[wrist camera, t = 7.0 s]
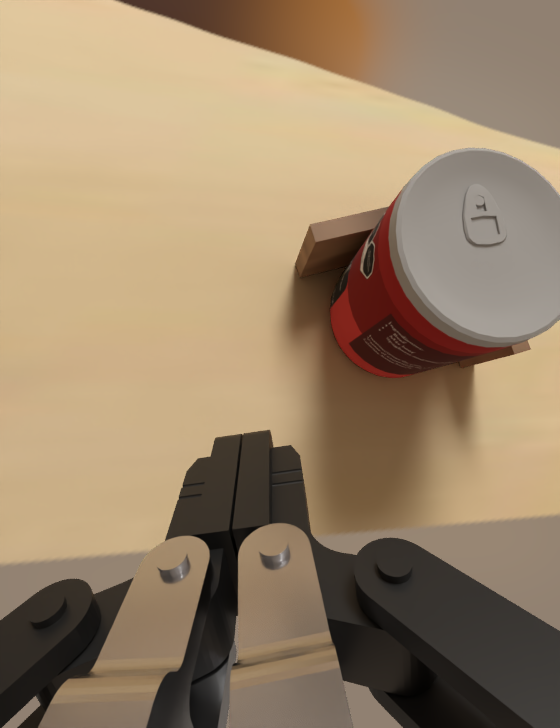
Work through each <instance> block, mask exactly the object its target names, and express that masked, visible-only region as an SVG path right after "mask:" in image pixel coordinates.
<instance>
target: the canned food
mask: <svg viewBox="0 0 560 728" xmlns="http://www.w3.org/2000/svg"><path fill="white" fill-rule="evenodd" d="M330 316H331V325H332V329H333V332H334V336H335V338H336V340H337V342H338V344H339V346H340V348H341V349H342V350H343V352H344V353H345V355H346V356H347V357H348V358H349V359H350V360H351V361H352V362H353V363H355V364H356V365H358V366H359V367H361V368H362V369H364V370H366V371H368V372H370V373H373V374H375V375H378V376H383V377H388V378H399V377H405V376H409V375H413V374H416V373H420V372H423V371H427V370H431V369H434V368H438V367H441V366H445V365H448V364H452V363H455V362H459V361H462V360H466V359H469V358H473V357H476V356H480V355H483V354H487V353H490V352H494V351H497V350H501V349H504V348H507V347H509V346H513V345H516V344H520V343H523V342H525V341H527V340H528V339H530V338H533V337H535V336H537V335H539V334H541V333H543V332H545V331H547V330H548V329H549V328H551V327H552V326H553V325H554V324H555V323H556V322H557V321H559V320H560V195H559V194H558V192H557V191H556V190H555V188H554V187H553V186H552V185H551V183H550V182H549V181H547V180H546V179H545V178H544V177H543V176H542V175H541V174H540V173H539V172H538V171H537V170H535V169H534V168H532V167H531V166H529V165H527V164H526V163H524V162H523V161H521V160H519V159H517V158H515V157H513V156H510V155H508V154H506V153H503V152H499V151H495V150H490V149H485V148H465V149H459V150H453V151H450V152H447V153H445V154H442V155H440V156H437V157H436V158H434V159H433V160H431V161H430V162H428V163H427V164H426V165H424V166H423V167H422V168H421V169H420V170H419V171H418V172H417V173H416V174H415V175H414V176H413V177H412V178H411V179H410V180H409V182H408V183H407V184H406V185H405V186H404V187H403V189H402V190H401V191H400V193H399V194H398V196H397V197H396V198H395V200H394V201H393V202H392V203H391V205H390V206H389V208H388V209H387V210H386V212H385V213H384V215H383V216H382V218H381V219H380V221H379V222H378V223H377V225H376V226H375V228H374V229H373V231H372V232H371V234H370V235H369V236H368V238H367V239H366V241H365V242H364V244H363V245H362V246H361V248H360V249H359V251H358V252H357V254H356V255H355V257H354V258H353V259H352V261H351V262H350V264H349V265H348V267H347V268H346V270H345V271H344V272H343V274H342V275H341V277H340V279H339V280H338V282H337V284H336V286H335V288H334V291H333V294H332V297H331V305H330Z"/></svg>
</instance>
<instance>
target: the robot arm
mask: <svg viewBox="0 0 560 728" xmlns="http://www.w3.org/2000/svg"><path fill="white" fill-rule="evenodd" d="M236 616H238V662H237V663H235V661H236V645H235V641H234V635H235V624H236ZM343 681H347V682H351V683H355V684H358V685H363V686H366V687H369V689H370V691H371V693H372V695H373V696H374V698H375V699H376V700H377V701H378V702H379V703H380V704H381V705H382V706H383V707H384V708H385V710H387V712H388V713H389V714H390V715H391V716H392V717H394V719H395V720H396V721H397V722H398V723H399V724H400V725H401V726H402V727H403V728H560V631H559V630H557V629H555V628H554V627H552V626H550V625H549V624H547V623H545V622H544V621H542V620H540V619H538V618H537V617H535V616H534V615H532V614H530V613H529V612H527V611H526V610H524V609H522V608H521V607H519V606H517V605H516V604H514V603H512V602H511V601H509V600H507V599H506V598H504V597H502V596H500V595H499V594H497V593H496V592H494V591H492V590H491V589H489V588H487V587H486V586H484V585H482V584H481V583H479V582H477V581H476V580H474V579H472V578H471V577H469V576H467V575H466V574H464V573H462V572H461V571H459V570H458V569H456V568H454V567H453V566H451V565H449V564H448V563H446V562H444V561H442V560H441V559H439V558H438V557H436V556H434V555H433V554H431V553H429V552H428V551H426V550H424V549H423V548H421V547H419V546H418V545H416V544H414V543H412V542H409V541H406V540H403V539H398V538H383V539H378V540H375V541H372V542H370V543H368V544H367V545H366V546H364V547H363V548H362V549H361V550H360V551H359V552H358V554H357V555H353V554H346V553H340V552H336V551H333V550H330V549H328V548H326V547H324V546H323V545H321V544H320V543H319V542H318V541H316V539H315V538H314V537H313V535H312V534H311V530H310V522H309V514H308V507H307V499H306V493H305V486H304V480H303V473H302V466H301V460H300V455H299V454H298V453H297V452H296V451H295V449H294V448H293V447H292V446H291V445H289V446H282V447H275V448H274V447H273V442H272V436H271V432H270V430H265V431H258V432H251V433H244V434H243V435H242V434H238V435H231V436H224V437H217V438H215V441H214V445H213V449H212V453H211V457H205V458H198V459H197V460H196V462H195V463H194V464H193V465H192V466H191V467H190V468H189V470H188V471H187V473H186V476H185V479H184V482H183V488H181V492H180V495H179V500H178V501H177V504H176V508H175V511H174V514H173V517H172V520H171V523H170V527H169V530H168V533H167V536H166V539H165V541H164V542H163V543H161V544H159V545H158V546H156V547H155V548H153V549H152V550H151V551H150V552H149V553H148V554H147V555H146V556H145V558H144V559H143V560H142V562H141V564H140V565H139V568H138V570H137V572H136V574H135V576H134V578H132V579H130V580H128V581H126V582H123V583H121V584H119V585H116V586H114V587H111V588H109V589H106V590H104V591H101V592H99V593H96V594H93V592H92V590H91V588H90V586H89V585H88V583H86V582H85V581H83V580H80V579H67V580H62V581H59V582H56V583H54V584H52V585H49V586H47V587H45V588H44V589H42V590H40V591H39V592H37V593H36V594H35V595H33V596H32V597H31V598H29V599H28V600H27V601H25V602H24V603H23V604H22V605H20V606H19V607H17V608H16V609H15V610H14V611H12V612H11V613H10V614H8V615H7V616H6V617H4V618H3V619H2V620H0V728H2V727H3V726H4V725H5V724H6V723H7V722H8V721H9V720H10V719H11V718H12V717H13V716H14V715H15V714H16V713H17V712H18V711H20V710H21V709H22V708H23V707H24V706H25V705H26V704H27V703H28V702H29V701H30V700H31V699H32V698H33V697H35V696H36V697H37V699H38V701H39V702H40V704H41V705H40V706H39V707H38V708H37V709H36V710H35V711H34V712H33V713H32V714H31V715H30V716H29V717H28V718H27V719H26V720H25V721H24V722H23V723H22V724H21V725H20V726H19V727H18V728H226V724H227V717H228V710H229V709H230V710H229V728H353V723H352V719H351V714H350V710H349V706H348V702H347V697H346V692H345V688H344V683H343ZM229 703H230V706H229Z"/></svg>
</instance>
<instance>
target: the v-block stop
mask: <svg viewBox="0 0 560 728" xmlns="http://www.w3.org/2000/svg"><path fill="white" fill-rule="evenodd" d="M388 208H389V207H386V208H381V209H377V210H372V211H368V212H363V213H359V214H355V215H350V216H346V217H341V218H337V219H332V220H328V221H324V222H319V223H315V224H310V226H309V229H308V231H307V234H306V237H305V239H304V242H303V244H302V247H301V250H300V252H299V255H298V258H297V260H296V263H295V264H296V267H297V270H298V273H299V277H300V278H301V277H305V276H309V275H313V274H317V273H321V272H325V271H329V270H333V269H337V268H341V267H345V266H348V265H349V264H350V262H351V261H352V259H353V258H354V257H355V255H356V254H357V252H358V251H359V249H360V248H361V246H362V245H363V244H364V242H365V241H366V239H367V238H368V236H369V235H370V234H371V232H372V231H373V229H374V228H375V226H376V225H377V223H378V222H379V221H380V219H381V218H382V216H383V215H384V213H385V212H386V210H387V209H388ZM527 350H530V346H529V343H528V341H525V342H523V343H520V344H516V345H513V346H509V347H507V348H504V349H501V350H497V351H494V352H490V353H487V354H483V355H480V356H476V357H473V358H469V359H466V360H462V361H459V364H460V366H461V368H464V367H468V366H471V365H475V364H479V363H483V362H487V361H491V360H494V359H498V358H502V357H506V356H510V355H514V354H517V353H520V352H524V351H527Z"/></svg>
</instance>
